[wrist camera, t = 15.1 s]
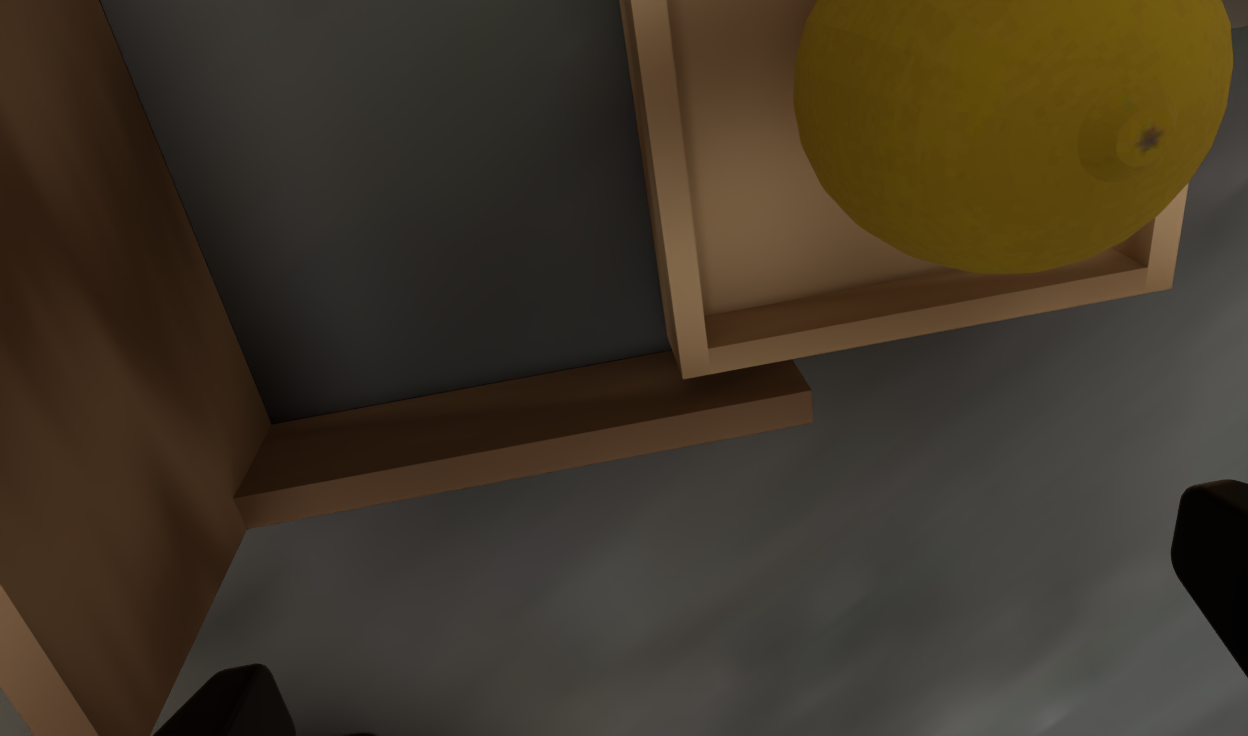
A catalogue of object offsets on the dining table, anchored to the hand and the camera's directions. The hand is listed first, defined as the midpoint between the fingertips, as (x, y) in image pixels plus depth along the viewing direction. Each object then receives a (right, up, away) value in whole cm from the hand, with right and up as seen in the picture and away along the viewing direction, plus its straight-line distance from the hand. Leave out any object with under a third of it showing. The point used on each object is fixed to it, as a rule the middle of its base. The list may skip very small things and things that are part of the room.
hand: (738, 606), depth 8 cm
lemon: (+4, +9, +9) cm, 13 cm away
